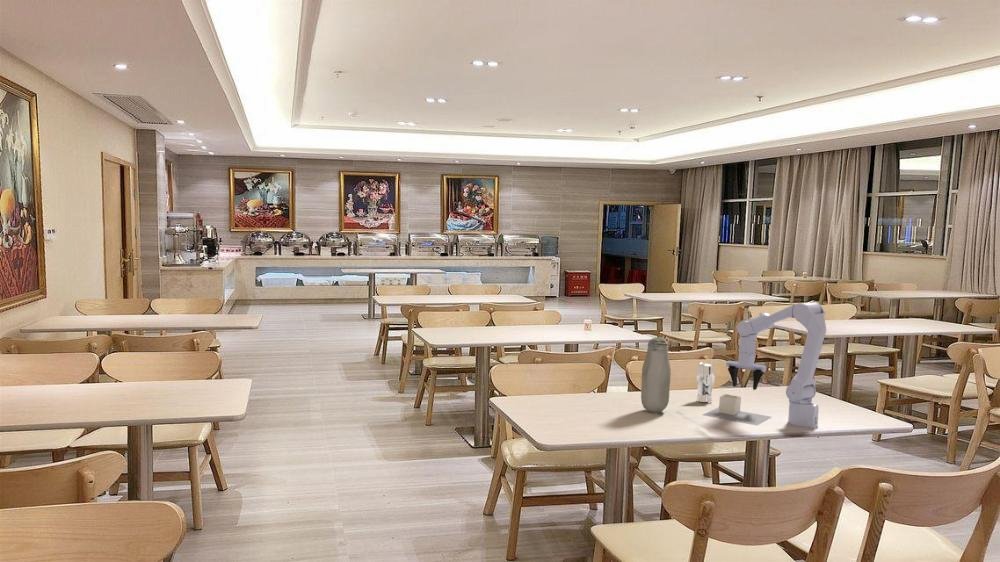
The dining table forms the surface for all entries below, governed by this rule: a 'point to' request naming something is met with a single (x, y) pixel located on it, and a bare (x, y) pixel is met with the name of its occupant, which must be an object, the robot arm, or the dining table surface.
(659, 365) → the grey bottle
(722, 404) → the collar
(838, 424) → the dining table surface
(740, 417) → the duct panel
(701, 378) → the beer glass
